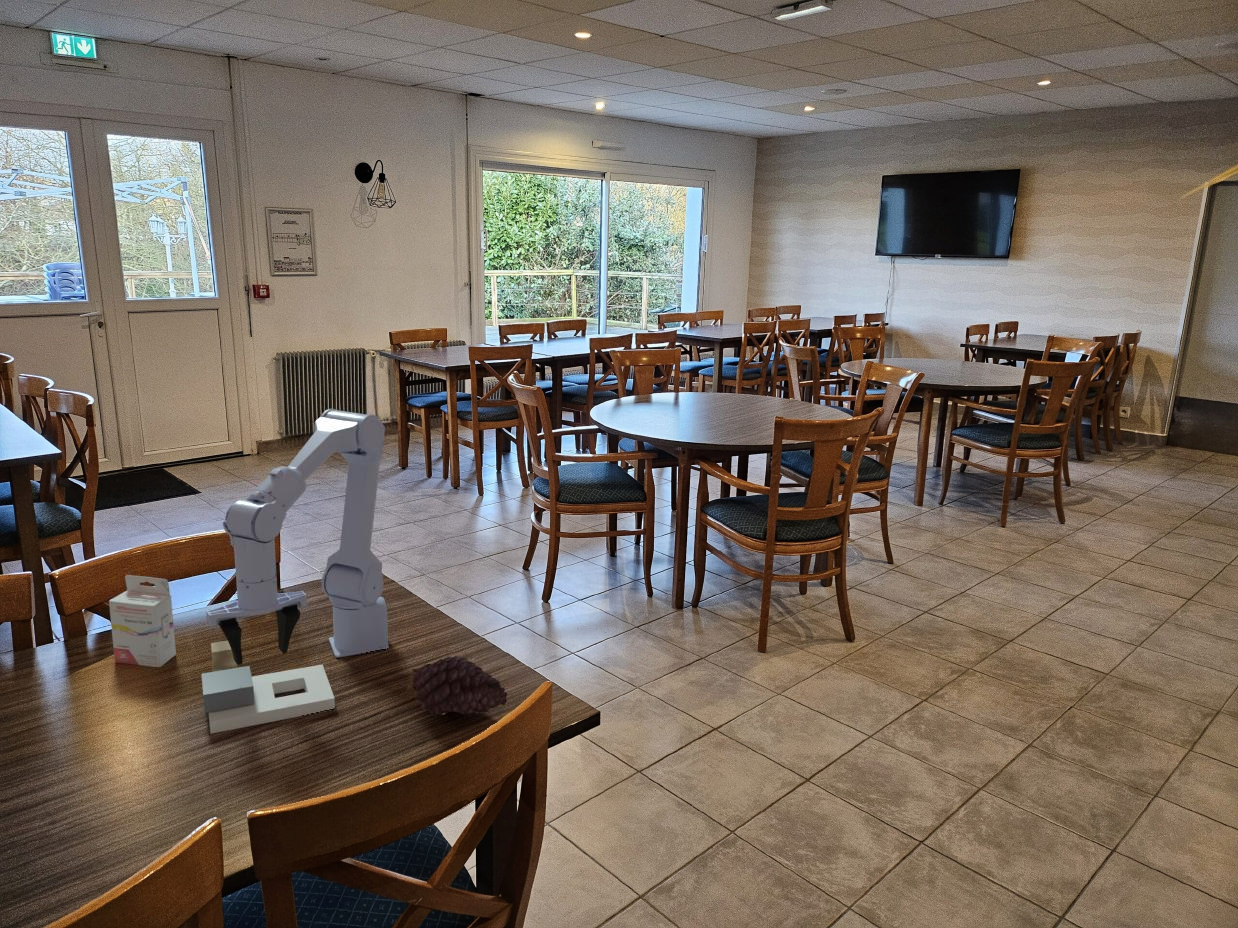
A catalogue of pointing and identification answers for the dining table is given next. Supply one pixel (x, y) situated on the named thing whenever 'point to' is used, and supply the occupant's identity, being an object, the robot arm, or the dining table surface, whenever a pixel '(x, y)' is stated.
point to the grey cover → (227, 688)
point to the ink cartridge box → (143, 623)
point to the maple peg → (222, 656)
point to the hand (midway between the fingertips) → (261, 656)
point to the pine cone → (456, 687)
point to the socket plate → (278, 699)
